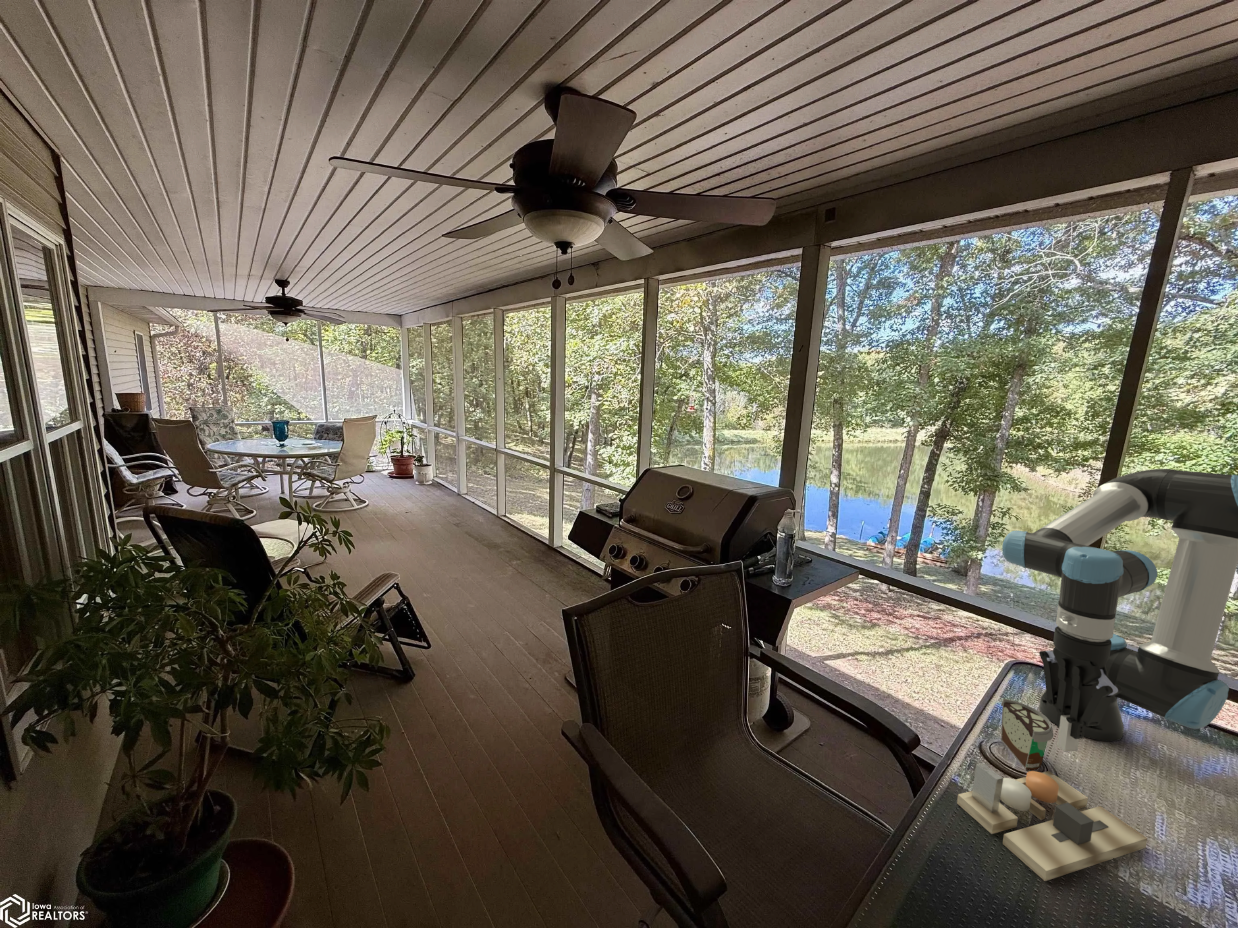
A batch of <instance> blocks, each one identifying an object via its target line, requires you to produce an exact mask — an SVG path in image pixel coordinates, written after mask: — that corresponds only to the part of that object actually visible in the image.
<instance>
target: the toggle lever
mask: <svg viewBox="0 0 1238 928" xmlns="http://www.w3.org/2000/svg"><path fill="white" fill-rule="evenodd" d="M975 765H976V766H975V771H974V778H973V779H974V780H973V785H972V790H971V791H972V797H973V798H974V799H976V800H977V801H978V802H979V803H980V804H982V805H983V806H984V807H985V808H986V809H988V810H989V811H990V812H991V813H993V812H997V811H998V808H999V803H1001V802H1000V801H1001V799H1000V796H1001V790H1002V784H1003V778H1004V777H1003V776H1001V774H998V773H997V772H996V771H994V770H993V769H992V768H990V767H989V766H988V765H987V764H986V763H984V762H981V763H976V764H975Z"/></svg>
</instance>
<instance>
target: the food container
mask: <svg viewBox="0 0 1238 928" xmlns="http://www.w3.org/2000/svg"><path fill="white" fill-rule="evenodd" d="M1000 705H1001V708H1002V711H1001V730H1000V731H1001V732H1000V734H1001V735H1000V741H1001V742H1002V744H1003V745H1004V746H1005V747H1006V748H1007V750H1008V751H1009V752H1010V753H1011V754H1012V755H1013V757H1014V759H1016V761H1017V763H1019V764H1020V765H1021V766H1023V767H1024V768H1023V767H1022V768H1023V769H1024V770H1025V771H1029V770H1031V771H1037V769H1038V770H1040V768H1041V767H1042V763H1043V761H1044V756H1045V753H1046V750H1047V749H1046V748H1047V746H1048V742H1049V741H1051V740H1052V739H1053V738H1054V729H1053V725H1052V724H1051V721H1050V720H1049V719H1047V717H1046V716H1044V715H1043V714H1042V712H1041V711H1040V710H1038V709H1035V708H1034V707H1031V706H1029V705H1028V704H1024V703H1022V702H1018V701H1016V700H1013V699H1008V698H1007V699H1006V698H1002V701H1001V703H1000Z"/></svg>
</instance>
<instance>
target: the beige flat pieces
mask: <svg viewBox="0 0 1238 928" xmlns="http://www.w3.org/2000/svg"><path fill="white" fill-rule="evenodd" d="M1042 773H1043V774H1045V775H1047V776H1049V777H1051V778H1052V779H1054V780H1055V781H1056V782H1057V784H1058V785H1059V790H1058V797H1057V801H1056V802H1055V803H1054V804H1056V806H1057V805H1061V804H1064V803H1069V804H1070V805H1072V806H1073V807H1075V808H1076V809H1077V810H1079V809H1084V808H1087V806H1088V799H1089V797H1088V796H1087V795H1084V793H1082V792H1080V791H1079V790H1077V789H1076V788H1074V787H1073V786H1071V785H1070V784H1069V783H1067V782H1066V781H1064V780H1062V779H1061V778H1060V777H1059V776H1057V775H1055V774H1054V773H1052V772H1051V771H1049V770H1047V771H1043V772H1042ZM1015 780H1017V781H1019V782H1021V783H1022V784H1024V785H1025V784H1026V776H1023V777H1021V778H1017V779H1015ZM956 801H957V802H956V804H957V805H958V806H960V808H962V809H963V810H964V811H965V812H966V813H967V814H968V815H969V816H971V817H972V818H973V819H974V820H976V822H978V823H979V824H980V825H981V826H982V827H983V828H984V829H985V830H986V831H987V832H989V833H990V834H991V835H994V834H997V833H1000V832H1003V831H1008V830H1012V829H1015V828H1017V827H1018V826H1017V825H1018V819H1019V817H1018V816H1017V815H1015V814H1014V813H1013V812H1012V811H1010V810H1009V809H1008V808H1007V807H1006V806H1004V805H1003V804H1002V803H1001V802H999V808H998V811H997V812H993V813H991V812H990V811H989V810H988V809H986V808H985V807H984V806H983V805H982V804H980V803H979V802H978V801H977V800H976V799H974V798H973V797H972V790H970V791H967V792H962V793H958V794H957V800H956ZM1046 811H1047V810H1046V809H1045V807H1043V806H1042V805H1040V804H1039V803H1038V802H1036V801H1035V800H1034V799H1033V798H1031V802H1030V808H1029V810H1028V812H1030V813H1031V814H1032V815H1034V817H1036V818H1037V819H1038V820H1040V821H1042V820H1045V818H1046ZM1080 812H1082V813H1083V814H1085V815H1086V816H1087V817H1089V818H1090V819H1092V820H1093V821H1094V822H1093V828H1092V835H1091V841H1089V842H1085V843H1082V844H1079V845H1078V844H1076V843H1075V842H1074V841H1073V840H1071V839H1070V838H1069V837H1067V836H1066V835H1065V834H1063V833H1062V832H1061V831H1060V830H1058V829H1057V828H1056V827H1054V826H1053V821H1054V819H1050V820H1047V821H1045V822H1041V823H1037V824H1033V825H1030V826H1027V827H1024V828H1021V829H1017V830H1014V831H1011V832H1006V833H1003V839H1002V845H1003V846H1005V848H1007V849H1008V850H1009V851H1010V852H1011V853H1012V854H1014V856H1016V857H1017V858H1018V860H1019V859H1020V861H1021V862H1023V864H1025V866H1027V867H1028V868H1029V869H1030V870H1031V871H1033V873H1035V874H1036V875H1037V876H1038V877H1040V878H1041V879H1042V880H1043V881H1044V882H1047V881H1050V880H1052V879H1056V878H1059V877H1062V876H1065V875H1068V874H1071V873H1075V872H1077V871H1080V870H1083V869H1086V868H1089V867H1092V866H1095V865H1098V864H1101V863H1104V862H1107V861H1110V860H1113V858H1114V859H1117V858H1119V857H1122V856H1125V855H1128V854H1131V853H1134V852H1137V851H1140V850H1143V849H1146V847H1147V844H1148V837H1146V836H1145V835H1144V834H1142V833H1141V832H1139V831H1137V830H1136V829H1135V828H1134V827H1132V826H1130V825H1128V824H1127V823H1126V822H1125V821H1123V820H1122V819H1120V818H1118V817H1117V816H1116V815H1114V814H1112V813H1111V812H1110V811H1108V810H1107V809H1105V808H1104V807H1102V806H1101V805H1099V806H1095V807H1092V808H1089V809H1085V810H1081V811H1080Z"/></svg>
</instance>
